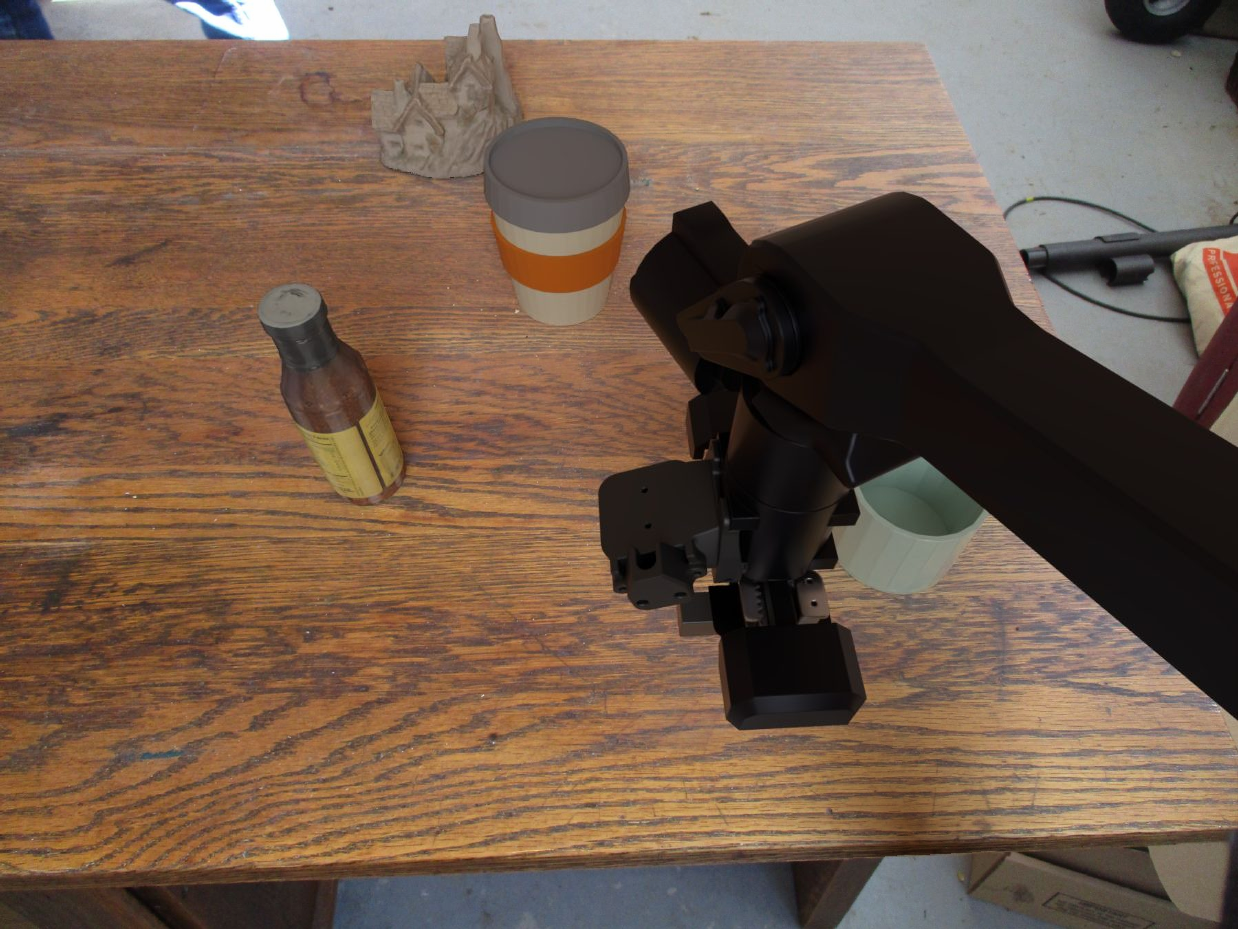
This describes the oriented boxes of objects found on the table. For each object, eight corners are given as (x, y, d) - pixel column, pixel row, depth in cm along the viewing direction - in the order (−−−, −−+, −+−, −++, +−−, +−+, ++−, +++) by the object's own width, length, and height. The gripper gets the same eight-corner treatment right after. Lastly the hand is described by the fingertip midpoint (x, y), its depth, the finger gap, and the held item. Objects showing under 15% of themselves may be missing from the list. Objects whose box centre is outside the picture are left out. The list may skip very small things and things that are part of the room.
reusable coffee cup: (473, 314, 79) (450, 178, 67) (536, 236, 86) (525, 100, 74) (592, 356, 76) (590, 222, 64) (647, 273, 83) (655, 137, 71)
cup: (979, 559, 65) (1022, 504, 58) (880, 616, 62) (914, 564, 55) (896, 468, 70) (926, 408, 63) (801, 516, 67) (822, 458, 60)
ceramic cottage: (536, 102, 100) (517, -29, 87) (506, 190, 91) (480, 58, 78) (412, 97, 102) (376, -32, 89) (371, 183, 93) (324, 53, 80)
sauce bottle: (383, 435, 71) (319, 250, 54) (422, 482, 68) (367, 303, 52) (313, 475, 68) (224, 294, 52) (351, 526, 65) (269, 351, 49)
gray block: (795, 601, 51) (801, 586, 50) (801, 631, 50) (808, 617, 48) (675, 607, 51) (678, 592, 49) (679, 637, 50) (682, 623, 48)
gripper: (599, 314, 42) (599, 487, 55) (623, 668, 31) (615, 780, 44) (817, 308, 42) (767, 480, 55) (915, 653, 32) (824, 769, 44)
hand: (741, 611), depth 50 cm, fingers closed on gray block, 2 cm apart
